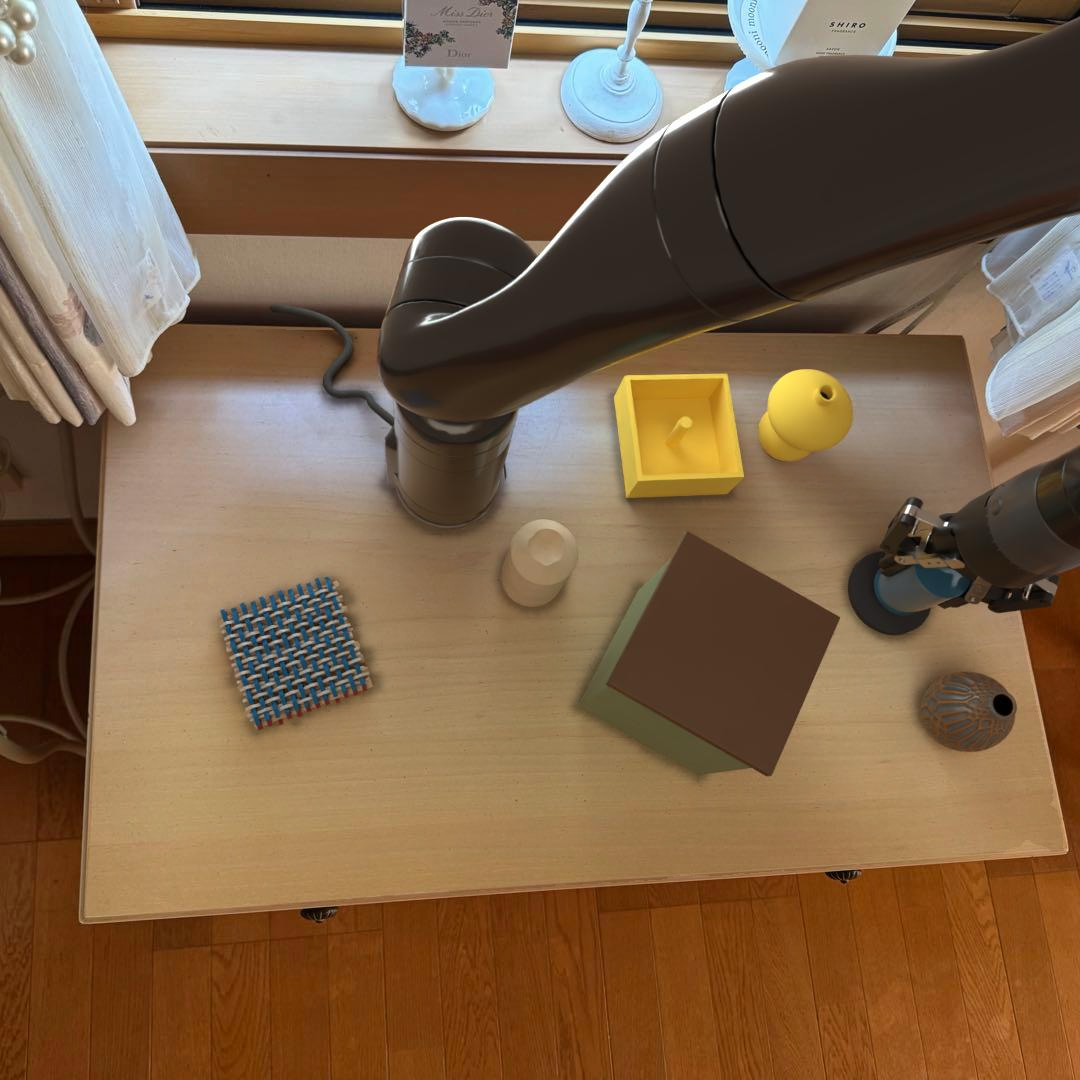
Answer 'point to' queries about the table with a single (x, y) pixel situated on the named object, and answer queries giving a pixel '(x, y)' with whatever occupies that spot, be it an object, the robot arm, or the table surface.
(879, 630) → the coaster
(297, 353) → the table surface
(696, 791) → the table surface
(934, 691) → the vase
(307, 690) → the woven mat
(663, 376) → the bath set
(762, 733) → the stand
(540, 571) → the candle
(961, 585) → the blue cylinder
